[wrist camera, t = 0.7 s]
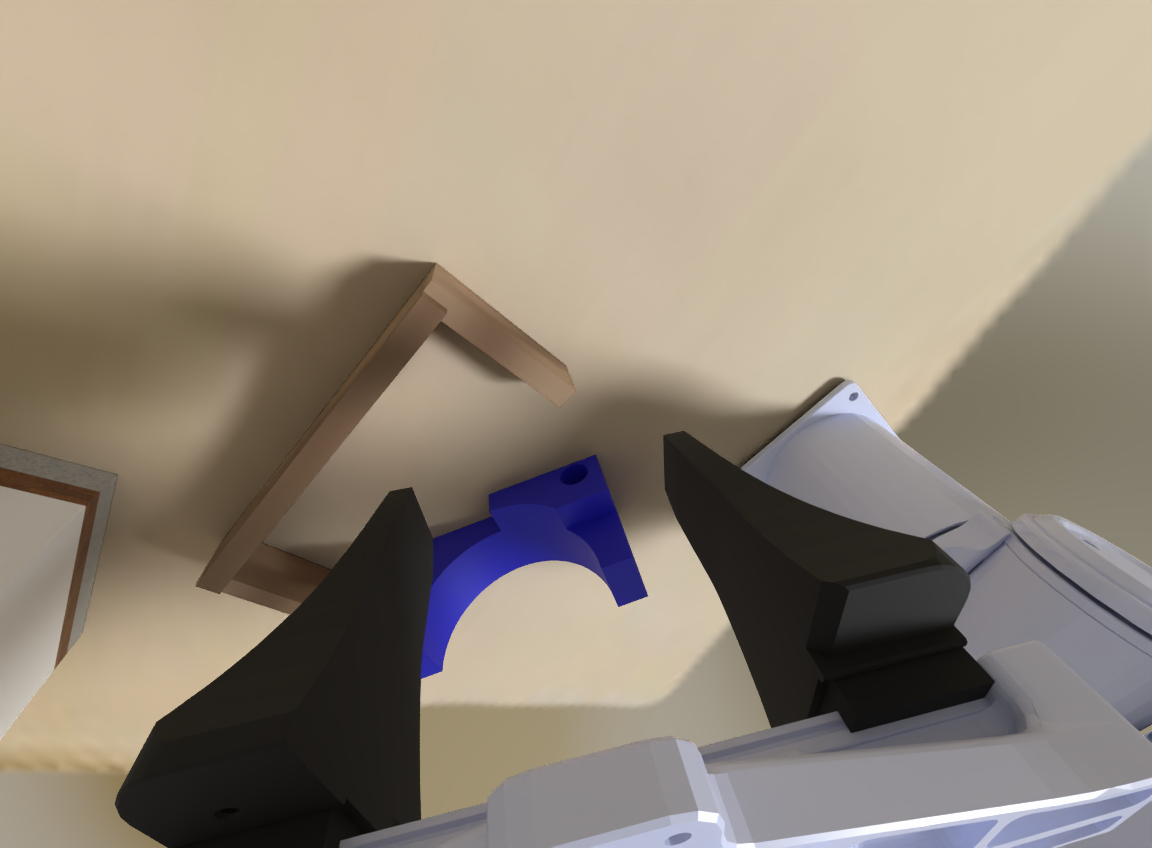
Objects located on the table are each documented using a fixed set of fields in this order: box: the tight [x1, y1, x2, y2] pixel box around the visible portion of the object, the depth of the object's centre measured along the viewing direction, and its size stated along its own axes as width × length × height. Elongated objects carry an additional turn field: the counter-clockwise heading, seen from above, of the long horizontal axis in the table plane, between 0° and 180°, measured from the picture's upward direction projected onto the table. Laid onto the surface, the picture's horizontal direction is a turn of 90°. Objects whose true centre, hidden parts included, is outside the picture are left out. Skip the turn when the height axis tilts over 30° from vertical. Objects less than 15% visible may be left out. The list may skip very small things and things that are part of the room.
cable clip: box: [421, 455, 648, 679], centre depth 24 cm, size 12×4×6 cm, turn 108°
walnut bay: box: [196, 263, 576, 615], centre depth 22 cm, size 7×18×3 cm, turn 136°
